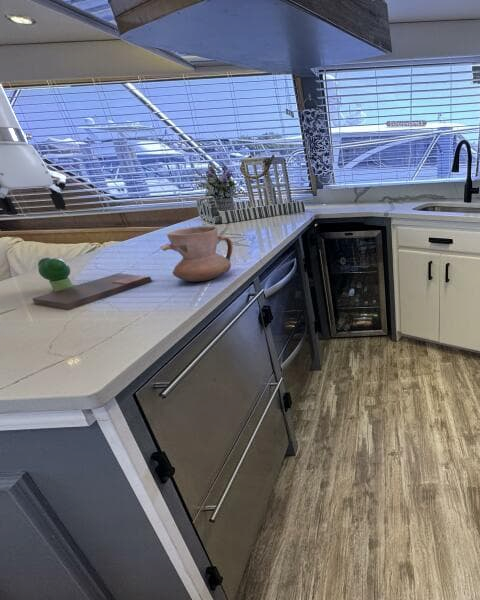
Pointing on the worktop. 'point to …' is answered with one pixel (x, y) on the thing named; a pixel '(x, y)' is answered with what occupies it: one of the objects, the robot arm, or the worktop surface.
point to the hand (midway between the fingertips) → (38, 211)
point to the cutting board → (91, 291)
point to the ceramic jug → (199, 253)
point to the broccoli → (55, 273)
